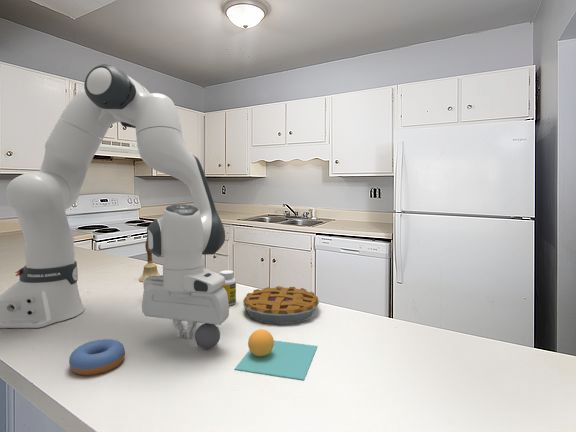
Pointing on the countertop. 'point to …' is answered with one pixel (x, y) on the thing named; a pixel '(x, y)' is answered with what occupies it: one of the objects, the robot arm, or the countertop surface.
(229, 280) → the supplement bottle
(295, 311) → the pie
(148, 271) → the hand bell
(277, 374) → the mark
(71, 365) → the doughnut
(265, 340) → the ball
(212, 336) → the ball
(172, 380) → the countertop surface
